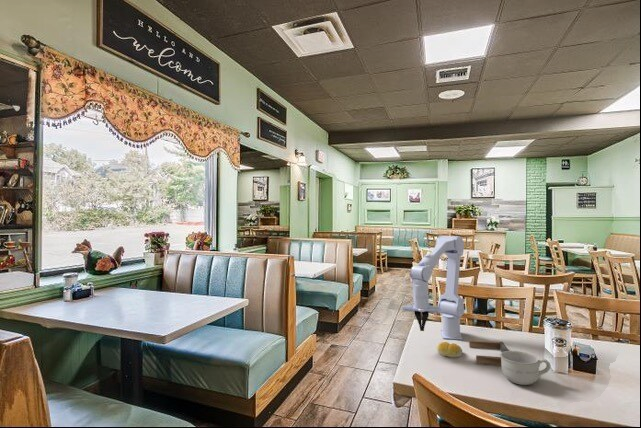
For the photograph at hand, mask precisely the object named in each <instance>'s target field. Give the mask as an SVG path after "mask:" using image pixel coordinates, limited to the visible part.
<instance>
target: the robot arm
mask: <svg viewBox="0 0 641 428" xmlns="http://www.w3.org/2000/svg"><path fill="white" fill-rule="evenodd" d="M464 249H465V242H464V239H463V237H462V236H460V235H458V236H457V235H454V236H453V235H439V236H438V237H437V239H436V241H435V245H434V248H433V249H432V250H431V252H430V253H427V254H425V255H424V256H423V258H422V259H421V260H420V261H419V262H418V264H416V265H415V264H414V265H413V266H411V268H410V272H409V277H410V279H411V280H410V281H411V284H412V289H413V290H412V291H413V293H412V294H413V304H412V305H402V312H404V313H406V312H413V313H414V316H415V318H416V320H417V323H418V325H419V331H420V332H424V331H425V326H426V323H427V320H428V318H429V315H430V314H429V313H434V314H435V313H437V314H440V316H441V317H442V318H441V320H442V323H441V324H442V329H440V333H441V336H442V339H443V340H463V337H462V333H461V317H462V316H463V315H464V313H465V305H464V304H465V303H464V299H463V298H462V297H461V296H460V295H459V294H458V293H459V291H458V290H459V281H460V280H459V278H460V269H461V257H462V256H463V255H464ZM443 254H444V255H446V257H447V267H446V279H445V290H444V291H445V292H444V293H443V294H441V295H440V296H439V299H438V302H437V306H432V305H430V303H429V298H430V297H429V281H430V279H431V278H432V274H433V271H434V269H435V268H436V266H437V265H438V263H439V260H438V259H439V258H440V257H442V255H443Z"/></svg>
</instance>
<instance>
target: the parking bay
mask: <svg viewBox="0 0 641 428" xmlns="http://www.w3.org/2000/svg"><path fill="white" fill-rule="evenodd" d="M468 346H469V348H470V349H471V348H472V349H485V350H500V352H501V353H502V352H505V351H510V349H508V348H507V346H506V344H505V343H504V341H494V340H493V341H491V340H477V339H476V340H474V339H473V340H472V339H469V340H468ZM475 359H476V360H475V361H476V364H477V365H483V366H484V365H487V366H500V367H502V365H501V356H490V355H477V354H476V355H475Z"/></svg>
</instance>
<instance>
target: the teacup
mask: <svg viewBox="0 0 641 428" xmlns="http://www.w3.org/2000/svg"><path fill="white" fill-rule="evenodd" d="M500 357H501V365H502V366H501V371H502V373H503V375H504V377H506V379H508V380H509V381H510V382H511V383H514V384H518V385H521V386H530V385H532V384H534V383H536V382H537V381H538V380H539V378H540V377H541V376H542V375H544V374H546V373H548V372H549V371H550V370H551V363H550V361H548V359H545V358H539V357H537V356H536V355H534V354H532V353H528V352H525V351H520V350H519V351H518V350H509V351H505V352H501V353H500ZM542 363H545V364H546V366H545V368H544V369H541V370H540V366H541V364H542Z"/></svg>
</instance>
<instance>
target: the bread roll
mask: <svg viewBox="0 0 641 428" xmlns="http://www.w3.org/2000/svg"><path fill="white" fill-rule="evenodd" d="M436 349H437V353H438V354H439V355H441V356H443V357H448V358H454V359H455V358H460V357H461V356H462V354H463V349H462V347H461V346H459V345H458V344H457V343H449V342H447V341H443V342H442V341H441V342H440V343H438V345H437V346H436Z"/></svg>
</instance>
